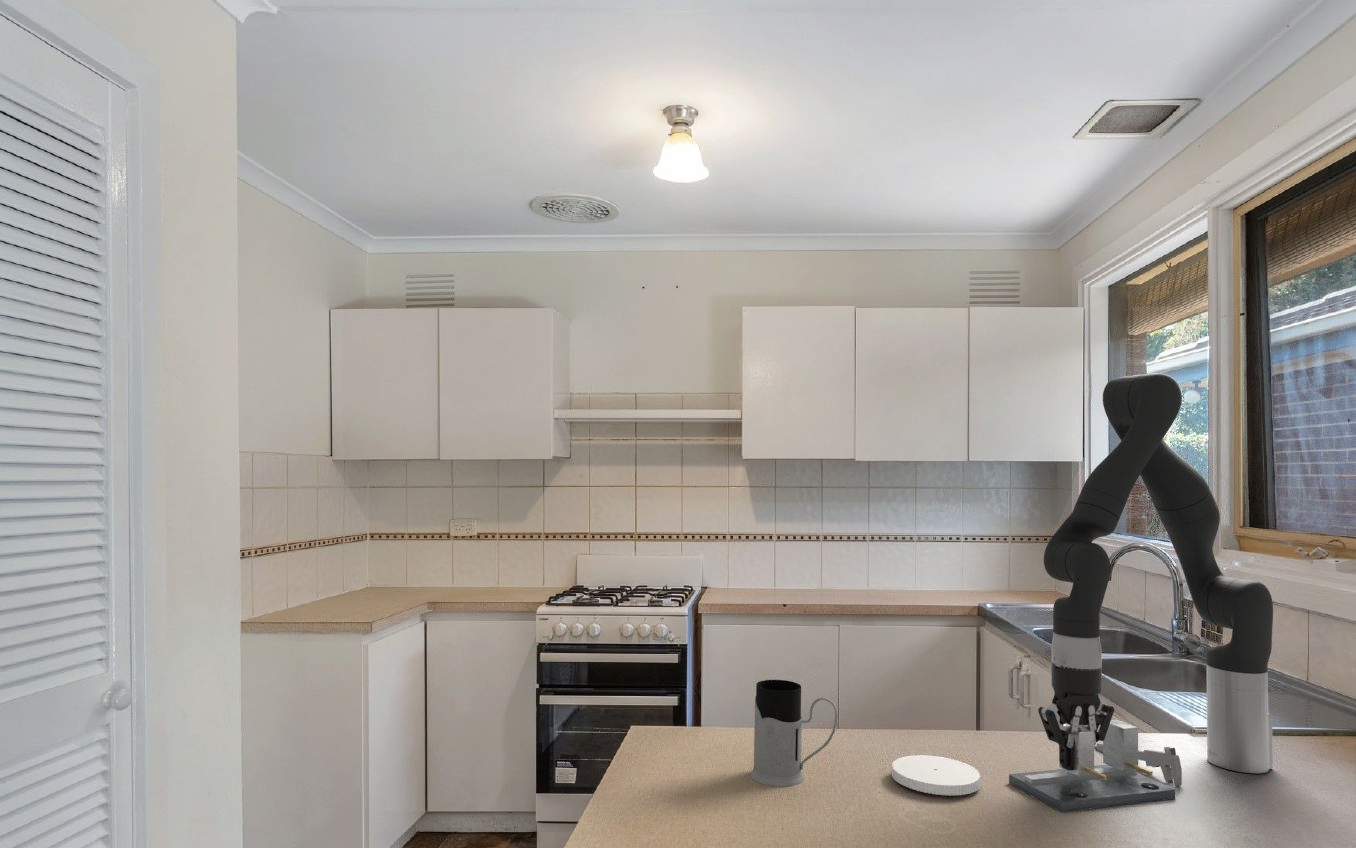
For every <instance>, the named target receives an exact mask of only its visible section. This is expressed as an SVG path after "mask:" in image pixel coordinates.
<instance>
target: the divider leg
mask: <svg viewBox="0 0 1356 848" xmlns="http://www.w3.org/2000/svg"><path fill="white" fill-rule="evenodd" d="M1065 724H1066V723H1065ZM1066 725H1067V726H1069V727H1070V725H1069V724H1066ZM1066 735H1067V732H1066ZM1066 735H1065V738H1066ZM1073 748H1074V770H1071V771H1069V772H1071V773H1073V774H1075V775H1077V776H1089V775H1094V776H1096V777H1098V778H1100V779H1102V780H1107V776H1106V775H1104V774H1102V773H1099V772H1097V771H1095V770H1094V766H1095V748H1094V731H1092V730H1089V729H1086V728H1084V727H1081V726H1079V725H1078V731H1077V733H1076V734H1075V735H1074V744H1073ZM1058 765H1059V769H1064V768H1063V767H1062V766H1061V764H1060V762H1059V764H1058ZM1065 770H1066V769H1065ZM1067 771H1068V770H1067Z"/></svg>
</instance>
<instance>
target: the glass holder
mask: <svg viewBox="0 0 1356 848" xmlns="http://www.w3.org/2000/svg"><path fill="white" fill-rule="evenodd" d="M755 685H756V686H755V687H756V688H755V697H754V727H753V728H754V731H753V732H754V733H753V734H754V735H753V736H754V737H753V740H754V741H753V742H754V743H753V767H752V771H751V773H750V777H751V779H752V780H754V781H755V782H757V783H759V784H762V785H767V786H771V787H780V788H781V787H792V786H797V785H800V784H801V783H803V781H804V779H805V778H804V774H803V773H802V770H803V767H804V764H805V763H807V761H808V760H809V759H811V758H813V757H814V756H815V755H817V754H818V753H819V752H821V751H822V750H823V749H825V748H826V746H828V745H829V743H830V742H831V740H832V738H833V736H834V734H835V732H836V730H837V725H838V709H837V705H836V703H835V702H833V701H832V700H831V699H830V698H828V697H818V698H816V699H814V701H813V702H812V704H811V706H810V709H809V719H803V717H802V685H801V684H799V683H798V682H795V681H791V680H787V679H786V680H785V679H784V680H783V679H765V680H760V681H758V682H756V683H755ZM819 701H825V702H828V703H830V705H832V706H833V709H834V725H833V728H832V731H831V732H830V735H829V737H828V739H827V740H826V741H825V742H824V743H823V744H822V745H821V746H820V747H819V748H817V749H816V750H815V751H814V752H811V753H810V754H809V755H808V756H806V757H805V758H804V759H803V760H802V738H803V737H802V734H803V732H802V730H803V729H802V728H803V727H802V725H803V723H804V724H806V723H810V722H811V720H812V719H813V713H814V708H815V705H816V704H817V703H818V702H819Z"/></svg>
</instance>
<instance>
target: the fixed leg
mask: <svg viewBox="0 0 1356 848" xmlns="http://www.w3.org/2000/svg"><path fill="white" fill-rule="evenodd" d="M1102 743H1103V752H1102V763H1103V764H1104V765H1109V766H1111V767H1114V768H1116V769H1118V770H1120V771H1123V772H1128V771H1137V772H1140V773H1142V774H1144V775H1147V776H1153V773H1154V772H1153V771H1152V770H1150V769H1148V768H1145V767H1143V766H1140V765H1139V760H1138V750H1139V727H1137V726H1135V725H1132V724H1129V723H1127V722H1124V721H1122V720H1118V719H1111V722H1110V725H1109V727H1108V730H1107V733H1106V736H1105V739H1104V741H1102Z"/></svg>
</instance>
